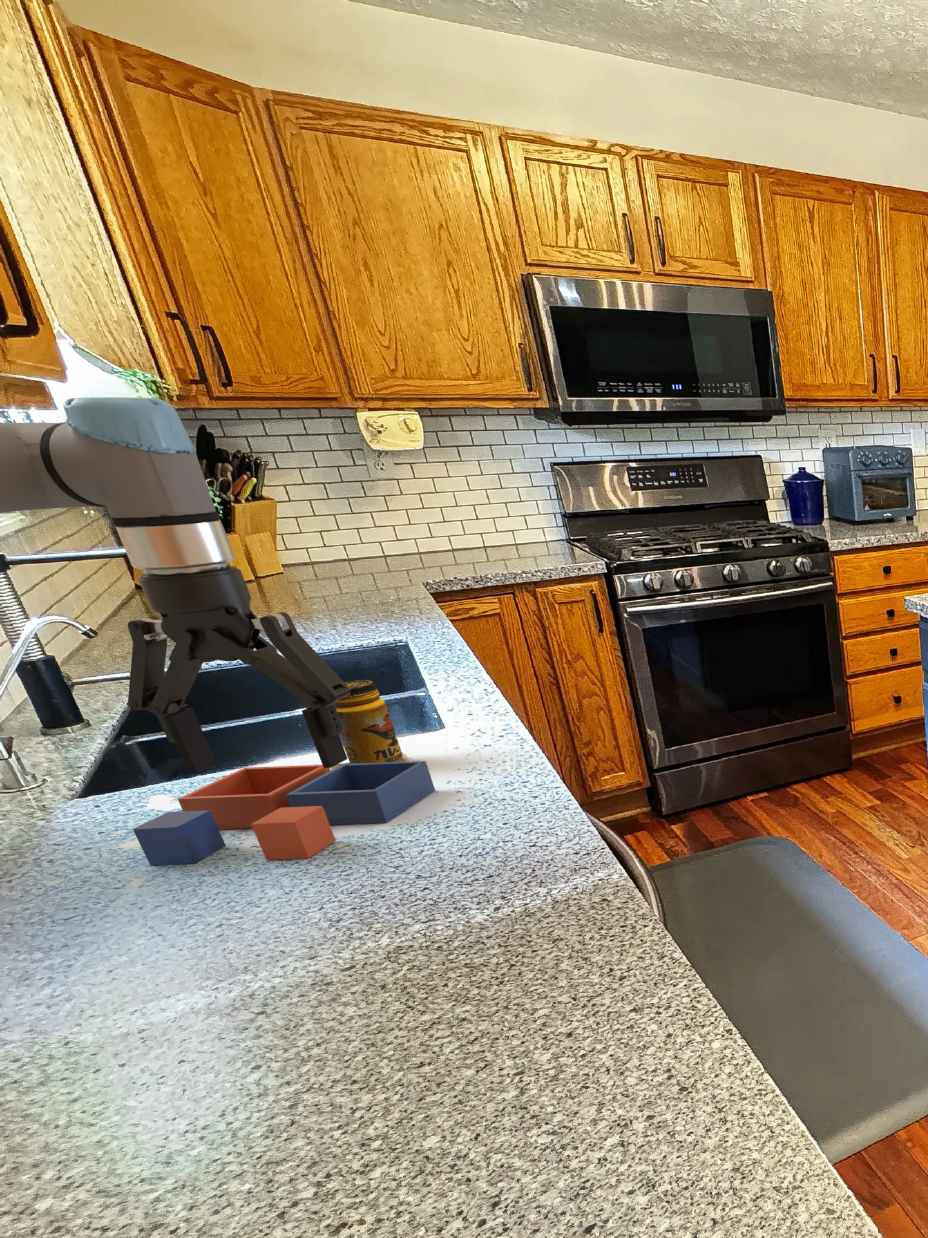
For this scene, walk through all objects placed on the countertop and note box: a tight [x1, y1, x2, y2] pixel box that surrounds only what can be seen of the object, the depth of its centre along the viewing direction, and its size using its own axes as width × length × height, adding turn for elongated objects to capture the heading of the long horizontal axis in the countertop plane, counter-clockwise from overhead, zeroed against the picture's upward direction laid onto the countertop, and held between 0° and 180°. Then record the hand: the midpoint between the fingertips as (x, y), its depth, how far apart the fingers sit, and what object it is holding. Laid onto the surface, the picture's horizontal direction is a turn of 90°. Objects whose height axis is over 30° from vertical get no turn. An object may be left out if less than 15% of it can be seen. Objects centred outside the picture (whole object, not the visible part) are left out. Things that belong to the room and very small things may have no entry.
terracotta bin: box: [177, 764, 331, 831], centre depth 107 cm, size 10×10×4 cm
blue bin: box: [286, 760, 436, 826], centre depth 108 cm, size 10×10×4 cm
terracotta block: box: [251, 806, 336, 861], centre depth 97 cm, size 4×4×4 cm
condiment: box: [330, 679, 410, 770], centre depth 120 cm, size 7×8×12 cm
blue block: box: [132, 810, 227, 866], centre depth 96 cm, size 4×4×4 cm
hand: (270, 766), depth 94 cm, fingers open, 13 cm apart
